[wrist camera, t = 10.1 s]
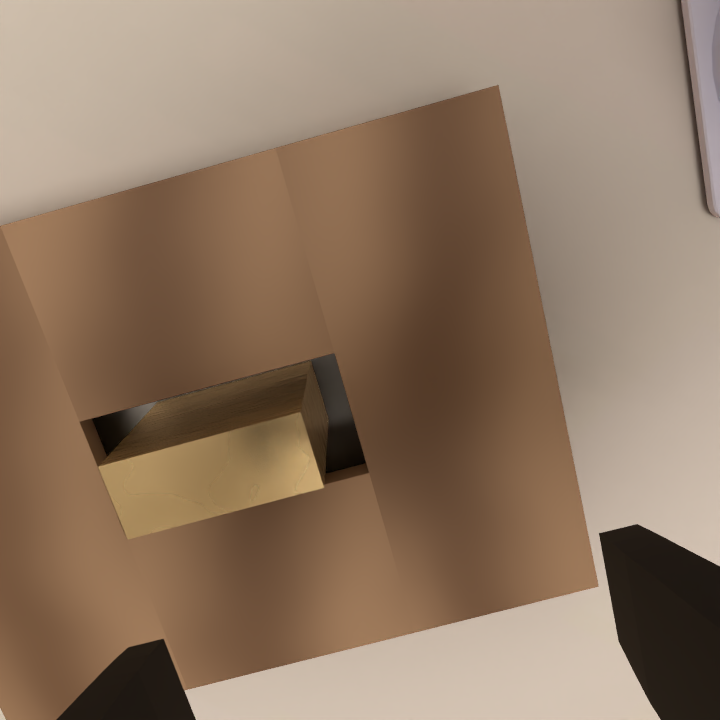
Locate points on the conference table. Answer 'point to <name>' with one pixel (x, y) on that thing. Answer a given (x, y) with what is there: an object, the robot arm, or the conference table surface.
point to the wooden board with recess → (271, 351)
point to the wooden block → (220, 451)
